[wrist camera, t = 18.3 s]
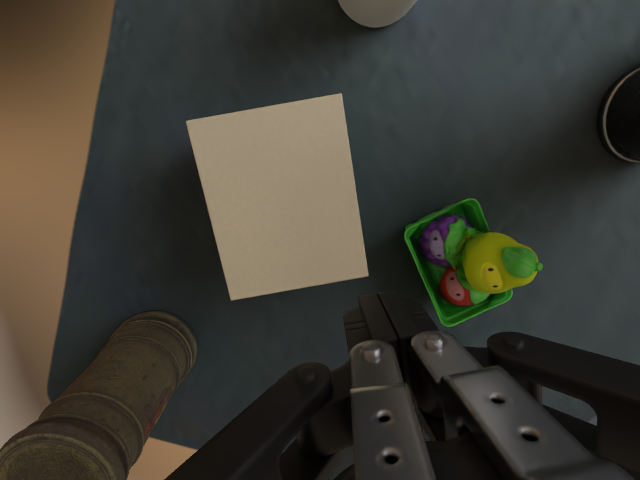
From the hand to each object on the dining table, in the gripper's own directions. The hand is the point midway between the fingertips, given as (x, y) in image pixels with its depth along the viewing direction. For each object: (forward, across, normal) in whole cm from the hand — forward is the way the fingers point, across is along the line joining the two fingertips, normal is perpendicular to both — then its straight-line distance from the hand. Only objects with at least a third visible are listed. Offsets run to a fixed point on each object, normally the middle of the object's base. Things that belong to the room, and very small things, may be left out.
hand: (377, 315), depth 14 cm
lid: (+16, +4, -3) cm, 17 cm away
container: (+25, +22, +12) cm, 35 cm away
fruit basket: (+25, -12, +6) cm, 28 cm away
